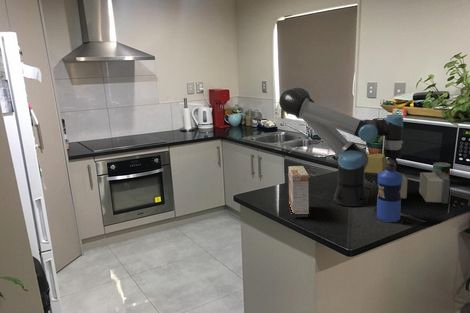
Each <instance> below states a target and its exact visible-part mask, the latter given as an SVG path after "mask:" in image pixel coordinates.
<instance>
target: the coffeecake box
mask: <svg viewBox="0 0 470 313" xmlns="http://www.w3.org/2000/svg"><path fill="white" fill-rule="evenodd" d="M309 193H310V192H309V174H308V172H307V171H306V169H305V167H304V165H293V166H291V165H290V166H288V204H290V207H291V210H292V212H293V213H295V214H309V215H310V213H309V212H310V205H309V203H310V202H309V200H310V199H309Z"/></svg>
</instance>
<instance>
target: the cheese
mask: <svg viewBox="0 0 470 313" xmlns="http://www.w3.org/2000/svg"><path fill="white" fill-rule="evenodd" d="M367 156H368V164H367V166H366V168H365V170H364V173H367V174H368V173H369V174H378V173H380V172H382V171H384V170H385V165H386V163H385V162H386V161H387V157H385V156H384V153H373V154H372V153H371V154H367Z"/></svg>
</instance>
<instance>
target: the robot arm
mask: <svg viewBox="0 0 470 313" xmlns="http://www.w3.org/2000/svg"><path fill="white" fill-rule="evenodd" d="M278 102H279V106H280V109H281V110H282V111H283V112H285V113H286V114H290V115H292V116H295V118H297V119H302V121H304V122H305V123H306V124H307V125H308V126H309V128H311V129H312V131H313V132H314V133H316V135H317V136H318V137H319V138H320V139H321V140H322V141H323V142H324V143H325V144H326V145H327V147H329V148H330V149H331V151H332V152H333V153H334V154H335V155H334V156H335V159H336V160H337V186H336V190H335V193H334V195H333V201H334V200H335V201H336V202H337V203H340V204H343V205H347V206H359V207H363V206H362V205H364V206H365V204H366V205H367V204H368V195H367V192H366V189H365V168H366V166H367V164H368V156H367V155H368V154H367V152H366V151H365V150H364V149H363V148H361V147H359V146H358V145H357V144H356V143H355V142H354V141H348V140H347V138H345V136H344V135H343V134H342V133H341V132H344V133H347V134H349V135H352V136H353V137H354V136H355V137H356V138H360V141H361V140H362V142H365V143H370V142H372V141H375V139H376V138H377V137H384V150H383V151H384V153H383V154H384V156H385V157H386V161H388V160H393V161H394V162H395V163H396V164H395V165H396V171H397V172H398V167H399V164H398V161H397V159H399V158H401V157H402V151H403V149H402V147H403V145H402V144H404V141H403V134H404V133H403V132H404V117H403V116H402V115H394V114H392V115H391V114H390V115H386V116H385V119H359V118H356V117H354V116H351V115H348V114H346V113H342V112H340V111H336V110H334V109H331V108H329V107H327V106H326V107H325V106H324V105H321V104H318V103H316V102H315V101H314V100H313V99H312V98H311V96H310V93H309V92H308V90H306V89H304V88H303V87H293V88H291V89H286V90H284V91H283V92H282V93H281V94H280V97H279V101H278ZM340 131H341V132H340ZM347 206H346V207H347Z"/></svg>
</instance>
